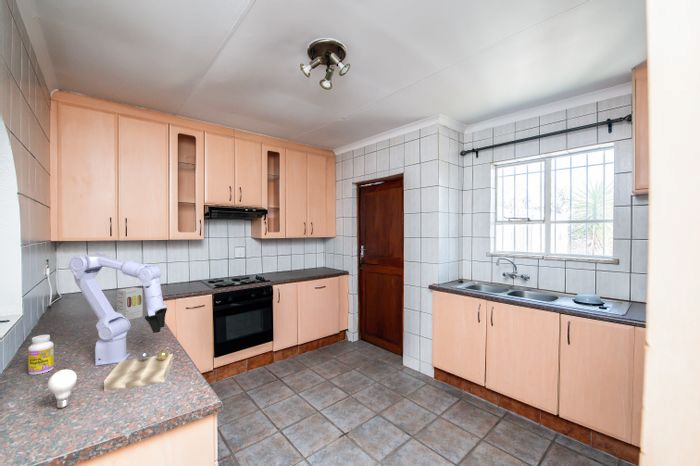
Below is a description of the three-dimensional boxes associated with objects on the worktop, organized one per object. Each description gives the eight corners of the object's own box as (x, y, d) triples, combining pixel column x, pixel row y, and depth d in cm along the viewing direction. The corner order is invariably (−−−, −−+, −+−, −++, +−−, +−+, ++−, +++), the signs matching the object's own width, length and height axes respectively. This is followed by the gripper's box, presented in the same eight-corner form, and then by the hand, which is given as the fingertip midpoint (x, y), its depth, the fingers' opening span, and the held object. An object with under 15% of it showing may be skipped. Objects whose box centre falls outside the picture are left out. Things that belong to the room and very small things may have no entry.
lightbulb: (61, 401, 94) (60, 365, 94) (83, 400, 95) (82, 365, 94) (42, 414, 88) (41, 376, 88) (65, 413, 88) (64, 375, 88)
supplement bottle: (24, 377, 109) (23, 341, 109) (33, 369, 115) (32, 335, 115) (50, 373, 112) (49, 338, 112) (57, 365, 118) (56, 332, 118)
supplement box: (125, 321, 172) (125, 291, 172) (116, 318, 176) (115, 289, 176) (143, 316, 181) (143, 288, 181) (134, 314, 185) (133, 286, 185)
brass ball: (156, 362, 113) (156, 353, 113) (158, 358, 116) (158, 349, 116) (167, 361, 114) (167, 351, 114) (169, 357, 117) (168, 348, 117)
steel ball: (136, 363, 112) (136, 353, 112) (139, 359, 116) (139, 350, 115) (148, 361, 114) (147, 352, 113) (150, 357, 117) (150, 348, 117)
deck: (104, 391, 100) (103, 380, 100) (121, 369, 115) (120, 360, 115) (164, 382, 106) (164, 372, 106) (173, 362, 121) (172, 353, 121)
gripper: (161, 296, 117) (166, 332, 117) (168, 291, 130) (173, 322, 131) (139, 301, 114) (145, 336, 115) (149, 294, 128) (154, 327, 128)
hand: (159, 329), depth 122 cm, fingers open, 7 cm apart
